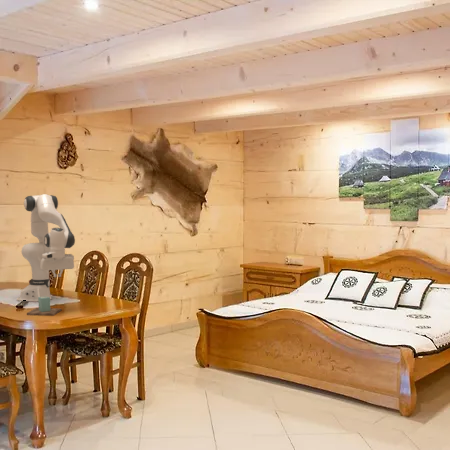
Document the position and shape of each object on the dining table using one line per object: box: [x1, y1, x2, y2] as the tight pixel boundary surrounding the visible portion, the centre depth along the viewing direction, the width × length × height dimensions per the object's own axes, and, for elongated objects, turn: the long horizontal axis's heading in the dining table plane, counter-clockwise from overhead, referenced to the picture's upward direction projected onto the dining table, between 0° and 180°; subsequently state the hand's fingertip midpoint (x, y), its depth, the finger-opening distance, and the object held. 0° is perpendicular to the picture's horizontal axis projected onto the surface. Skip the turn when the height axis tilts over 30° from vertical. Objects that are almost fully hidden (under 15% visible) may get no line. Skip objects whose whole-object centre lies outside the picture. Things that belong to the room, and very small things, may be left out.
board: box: [26, 307, 63, 317], centre depth 366 cm, size 16×16×6 cm
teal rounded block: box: [37, 296, 51, 312], centre depth 366 cm, size 5×6×8 cm
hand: (57, 276), depth 371 cm, fingers closed
